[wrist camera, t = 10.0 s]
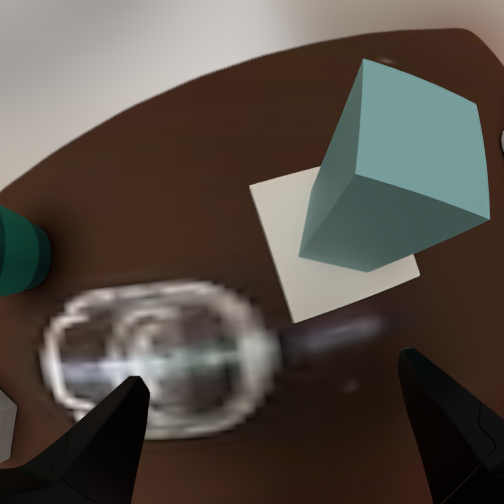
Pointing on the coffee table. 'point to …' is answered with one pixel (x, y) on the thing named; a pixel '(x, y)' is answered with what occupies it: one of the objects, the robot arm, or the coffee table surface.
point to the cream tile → (309, 271)
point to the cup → (22, 253)
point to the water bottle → (502, 141)
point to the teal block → (396, 173)
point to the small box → (6, 425)
